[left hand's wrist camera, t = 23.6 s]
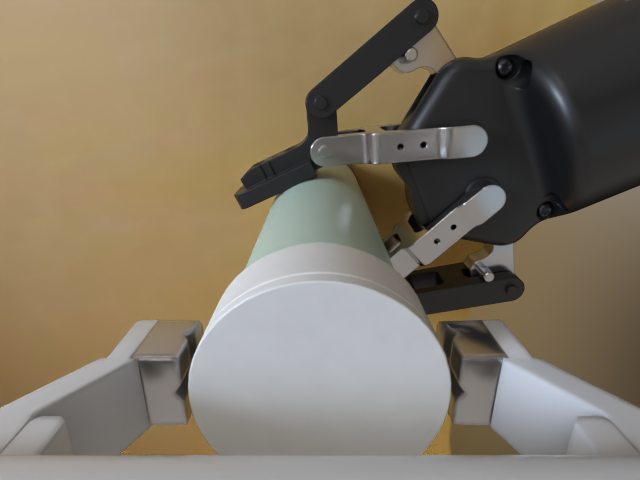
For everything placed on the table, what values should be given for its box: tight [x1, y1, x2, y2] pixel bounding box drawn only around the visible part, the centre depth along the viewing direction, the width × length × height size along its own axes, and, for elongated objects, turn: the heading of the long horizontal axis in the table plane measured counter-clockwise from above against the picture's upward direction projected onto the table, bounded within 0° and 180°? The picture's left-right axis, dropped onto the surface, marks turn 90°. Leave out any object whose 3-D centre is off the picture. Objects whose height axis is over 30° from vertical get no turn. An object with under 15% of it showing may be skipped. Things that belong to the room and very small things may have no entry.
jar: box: [245, 165, 394, 269], centre depth 17 cm, size 5×5×17 cm
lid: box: [188, 243, 451, 455], centre depth 9 cm, size 5×5×2 cm
